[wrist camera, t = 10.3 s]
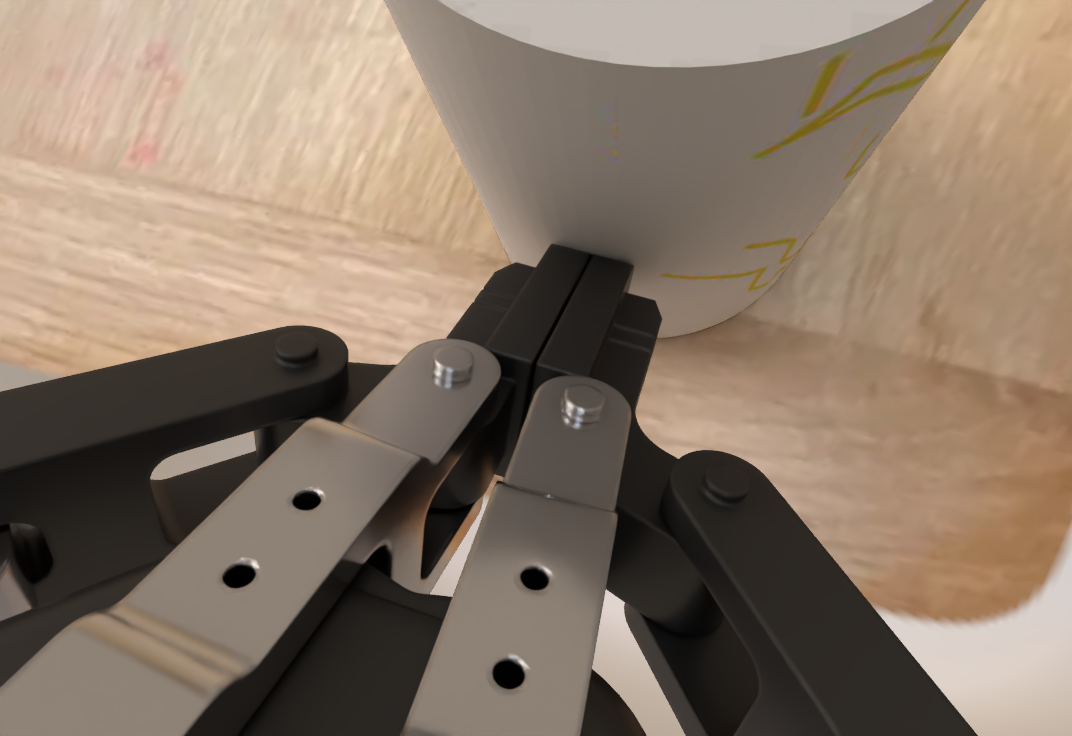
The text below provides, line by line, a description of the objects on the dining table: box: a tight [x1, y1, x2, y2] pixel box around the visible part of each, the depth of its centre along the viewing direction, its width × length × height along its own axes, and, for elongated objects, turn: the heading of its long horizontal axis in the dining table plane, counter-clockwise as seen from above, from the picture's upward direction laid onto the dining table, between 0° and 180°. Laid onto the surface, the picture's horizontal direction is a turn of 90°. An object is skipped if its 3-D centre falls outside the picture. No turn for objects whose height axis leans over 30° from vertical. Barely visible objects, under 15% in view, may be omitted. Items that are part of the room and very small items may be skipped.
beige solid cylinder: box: [384, 0, 986, 338], centre depth 13 cm, size 8×8×12 cm
